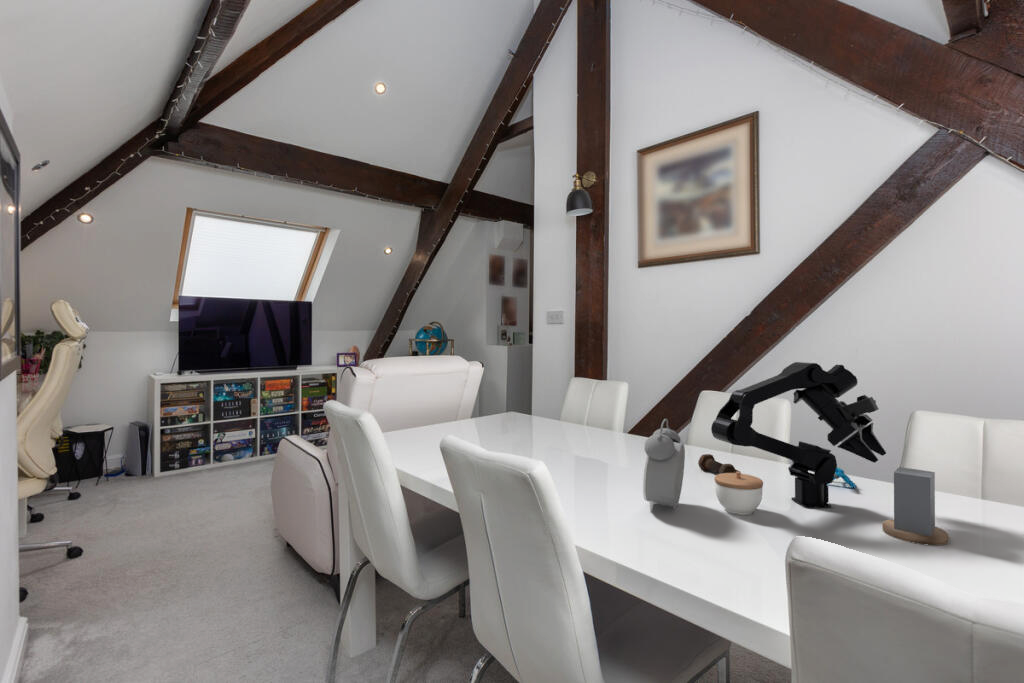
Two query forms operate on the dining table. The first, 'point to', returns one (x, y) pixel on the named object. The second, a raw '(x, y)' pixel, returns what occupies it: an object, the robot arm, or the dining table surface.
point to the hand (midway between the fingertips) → (880, 457)
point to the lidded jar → (738, 492)
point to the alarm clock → (663, 467)
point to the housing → (914, 501)
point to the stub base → (916, 535)
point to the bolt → (715, 465)
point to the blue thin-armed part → (843, 477)
